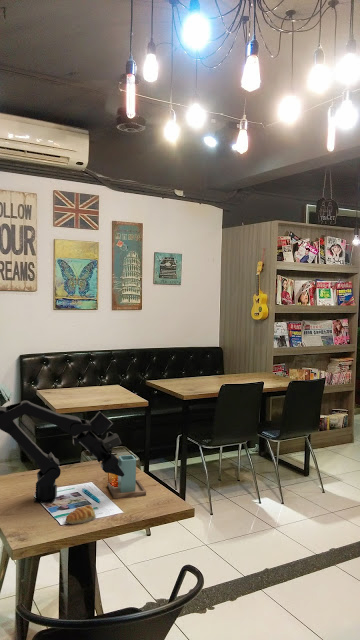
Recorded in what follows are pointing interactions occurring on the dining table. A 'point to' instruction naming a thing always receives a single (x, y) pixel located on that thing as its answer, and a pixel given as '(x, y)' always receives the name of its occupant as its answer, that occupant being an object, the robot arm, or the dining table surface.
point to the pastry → (81, 515)
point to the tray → (117, 494)
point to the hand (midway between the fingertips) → (120, 471)
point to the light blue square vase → (127, 473)
